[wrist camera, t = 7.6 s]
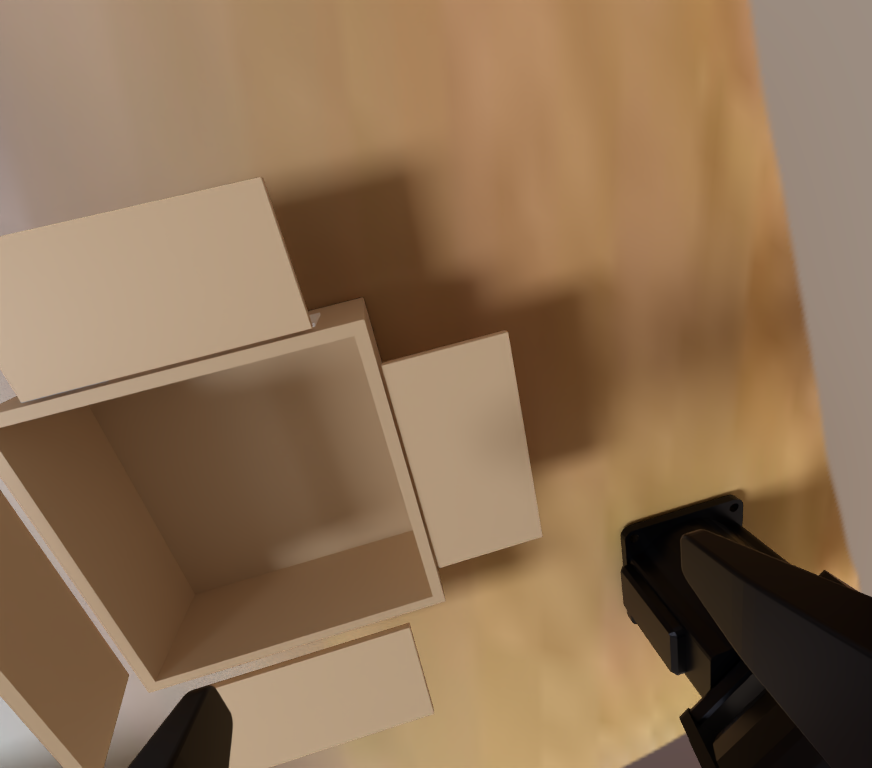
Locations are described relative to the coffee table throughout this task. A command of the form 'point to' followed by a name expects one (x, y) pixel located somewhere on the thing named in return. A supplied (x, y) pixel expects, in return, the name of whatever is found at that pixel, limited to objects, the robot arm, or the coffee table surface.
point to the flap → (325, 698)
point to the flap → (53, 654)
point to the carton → (239, 437)
